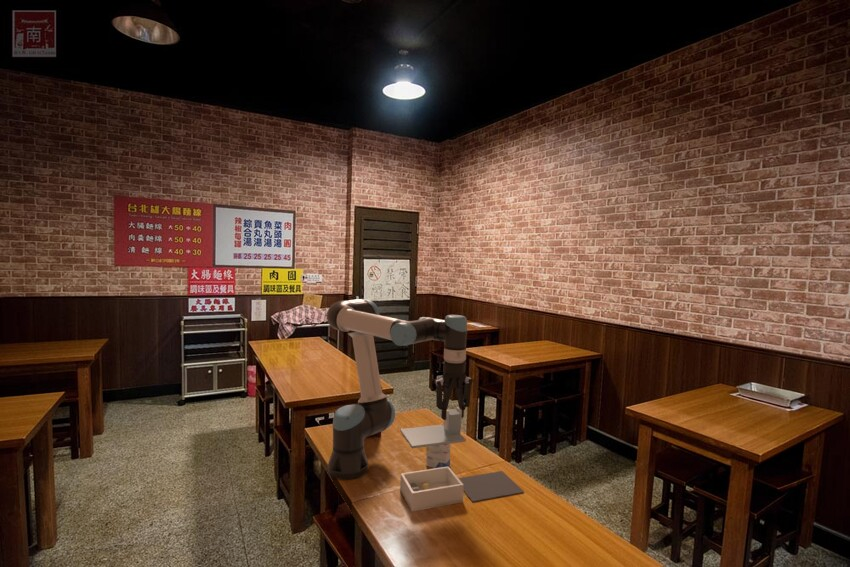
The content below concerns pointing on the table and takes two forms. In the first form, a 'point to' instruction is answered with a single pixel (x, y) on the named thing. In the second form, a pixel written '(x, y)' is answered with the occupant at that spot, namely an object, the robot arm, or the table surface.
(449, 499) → the tub
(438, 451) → the ink box
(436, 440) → the lid
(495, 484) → the mat
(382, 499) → the table surface
